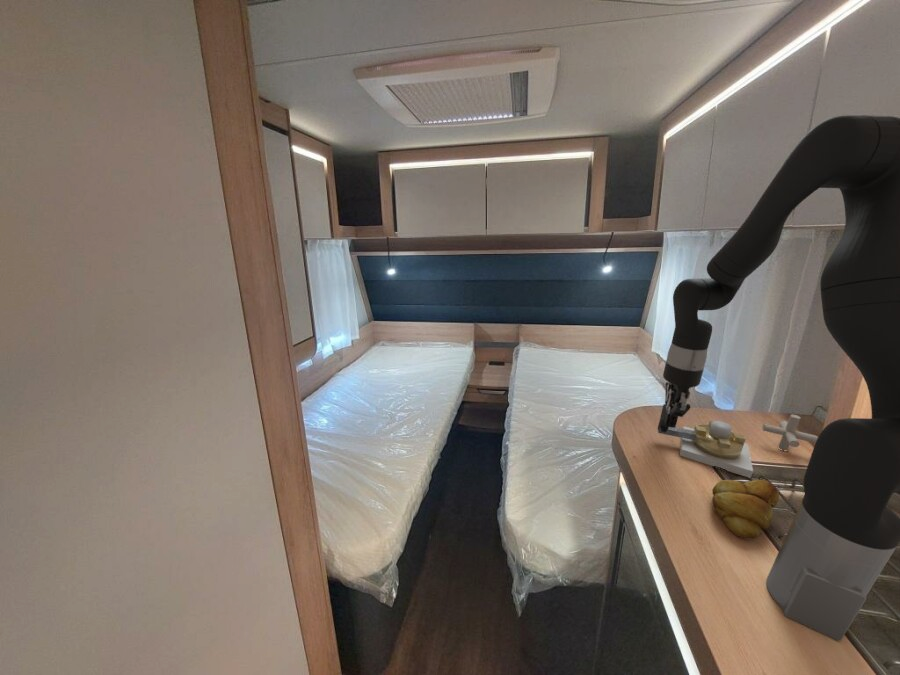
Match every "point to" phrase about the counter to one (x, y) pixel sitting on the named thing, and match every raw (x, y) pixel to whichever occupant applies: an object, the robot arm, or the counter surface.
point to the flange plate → (737, 465)
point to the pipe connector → (789, 433)
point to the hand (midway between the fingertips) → (669, 425)
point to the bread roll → (745, 505)
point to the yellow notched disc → (705, 439)
